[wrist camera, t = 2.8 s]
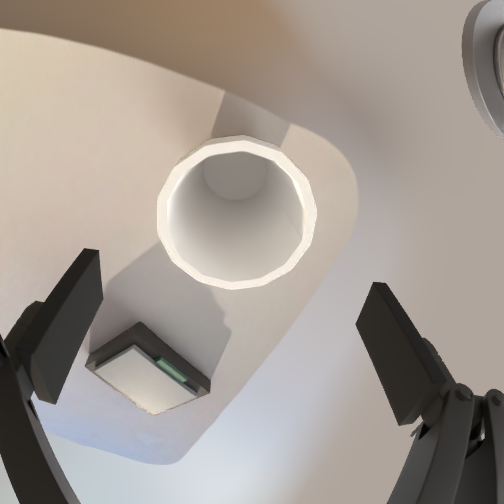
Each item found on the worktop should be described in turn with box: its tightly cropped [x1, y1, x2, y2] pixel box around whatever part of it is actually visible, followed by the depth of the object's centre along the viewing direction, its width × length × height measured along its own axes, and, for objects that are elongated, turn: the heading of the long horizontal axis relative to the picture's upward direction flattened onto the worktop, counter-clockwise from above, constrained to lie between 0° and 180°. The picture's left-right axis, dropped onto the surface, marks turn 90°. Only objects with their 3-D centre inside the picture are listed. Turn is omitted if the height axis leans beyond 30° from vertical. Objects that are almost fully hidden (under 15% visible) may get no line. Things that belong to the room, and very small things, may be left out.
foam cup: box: [157, 135, 317, 290], centre depth 24 cm, size 10×9×13 cm
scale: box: [85, 322, 211, 416], centre depth 41 cm, size 14×12×3 cm
